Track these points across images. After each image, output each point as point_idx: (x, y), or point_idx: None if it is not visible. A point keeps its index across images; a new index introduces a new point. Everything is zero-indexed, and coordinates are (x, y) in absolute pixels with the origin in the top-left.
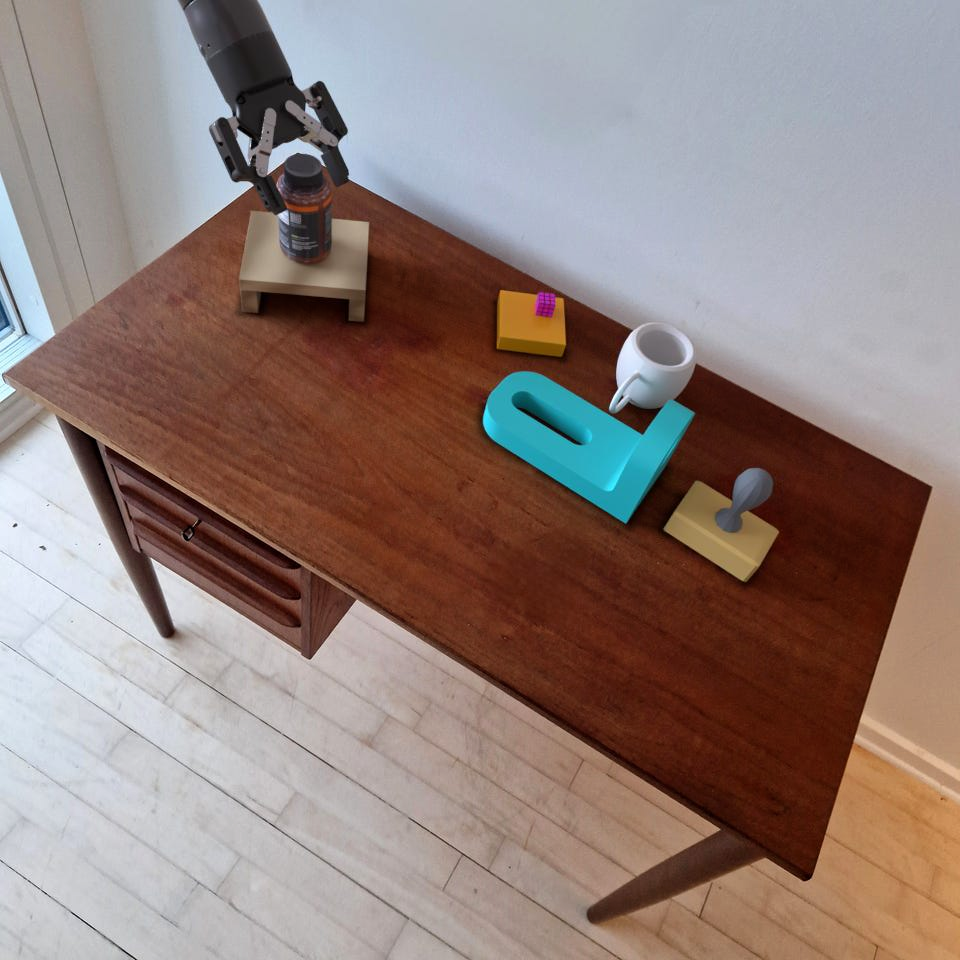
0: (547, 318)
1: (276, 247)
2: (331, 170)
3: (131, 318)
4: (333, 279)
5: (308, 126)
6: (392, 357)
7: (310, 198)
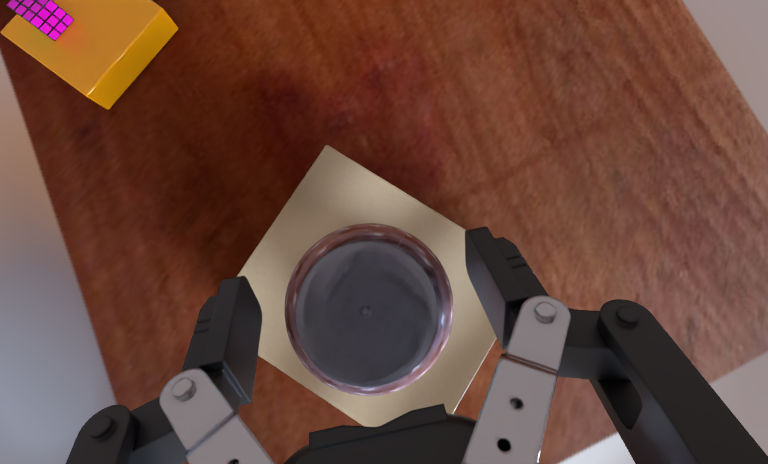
0: (61, 6)
1: None
2: (250, 337)
3: (677, 339)
4: (367, 195)
5: (261, 447)
6: (336, 85)
7: (385, 232)
